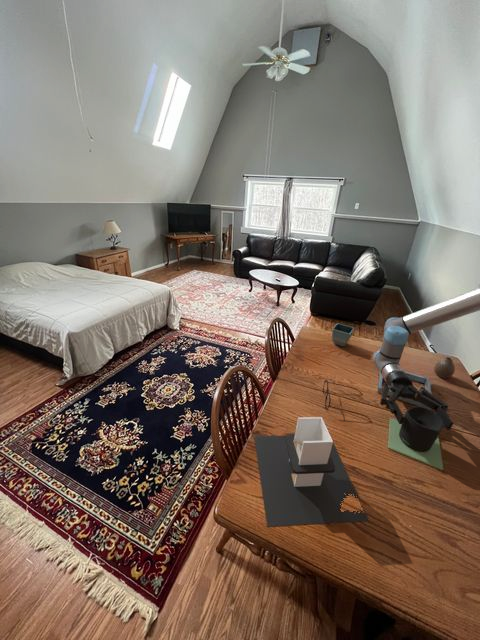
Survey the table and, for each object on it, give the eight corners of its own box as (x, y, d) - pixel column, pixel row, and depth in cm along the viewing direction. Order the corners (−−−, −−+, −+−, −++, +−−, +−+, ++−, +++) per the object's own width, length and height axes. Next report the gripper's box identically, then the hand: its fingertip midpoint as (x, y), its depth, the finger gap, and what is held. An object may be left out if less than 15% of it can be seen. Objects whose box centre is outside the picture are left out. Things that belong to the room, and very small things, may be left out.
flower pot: (328, 344, 138) (332, 328, 134) (334, 337, 145) (337, 322, 141) (346, 349, 134) (350, 334, 130) (350, 342, 140) (354, 327, 136)
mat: (437, 436, 87) (438, 434, 86) (442, 470, 76) (443, 469, 75) (389, 418, 93) (390, 417, 92) (387, 448, 81) (388, 447, 81)
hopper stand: (254, 436, 83) (257, 395, 76) (329, 434, 85) (339, 394, 78) (267, 526, 61) (274, 480, 54) (369, 520, 63) (388, 475, 56)
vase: (449, 382, 113) (458, 365, 109) (430, 375, 117) (438, 358, 113) (452, 375, 118) (460, 358, 114) (433, 368, 122) (440, 352, 118)
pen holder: (394, 425, 89) (403, 402, 85) (425, 432, 87) (436, 409, 83) (401, 449, 81) (412, 424, 77) (436, 457, 79) (449, 433, 74)
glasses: (322, 387, 107) (325, 377, 104) (360, 396, 105) (364, 386, 103) (325, 413, 94) (330, 402, 92) (368, 424, 92) (374, 413, 90)
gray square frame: (427, 383, 112) (429, 378, 111) (430, 410, 98) (433, 404, 96) (380, 369, 120) (381, 364, 118) (376, 392, 105) (378, 387, 104)
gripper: (429, 391, 99) (465, 438, 79) (359, 383, 101) (378, 427, 82) (436, 374, 95) (476, 419, 76) (364, 367, 98) (385, 408, 79)
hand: (426, 423), depth 79 cm, fingers open, 13 cm apart
